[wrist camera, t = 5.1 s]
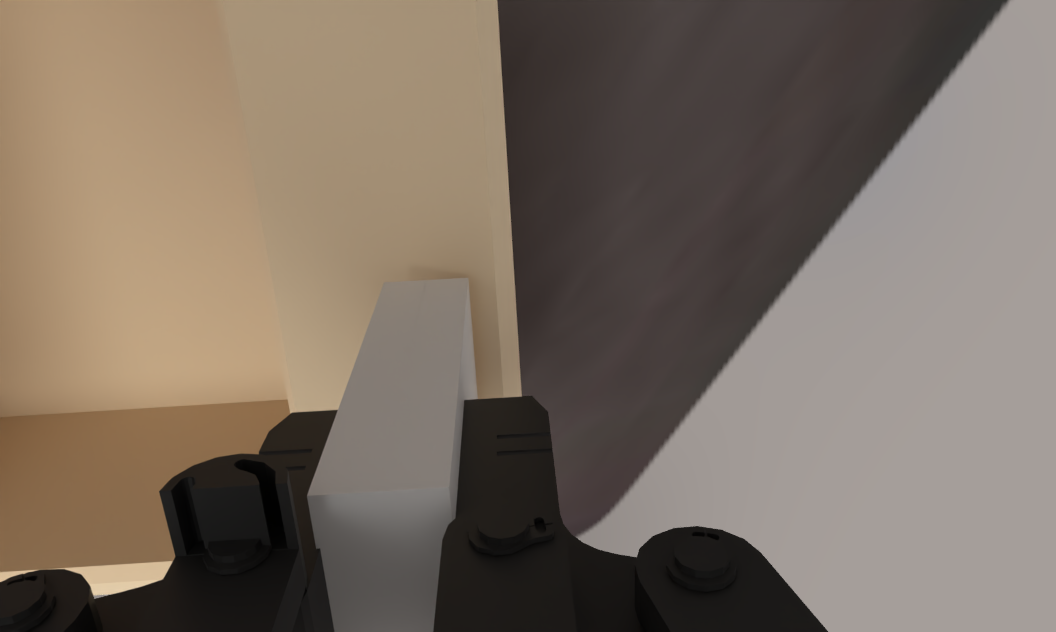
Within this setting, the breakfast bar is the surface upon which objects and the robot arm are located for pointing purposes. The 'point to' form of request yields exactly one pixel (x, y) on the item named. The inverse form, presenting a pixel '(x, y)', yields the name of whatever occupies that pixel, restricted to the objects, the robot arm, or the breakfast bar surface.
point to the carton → (124, 280)
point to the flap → (377, 172)
